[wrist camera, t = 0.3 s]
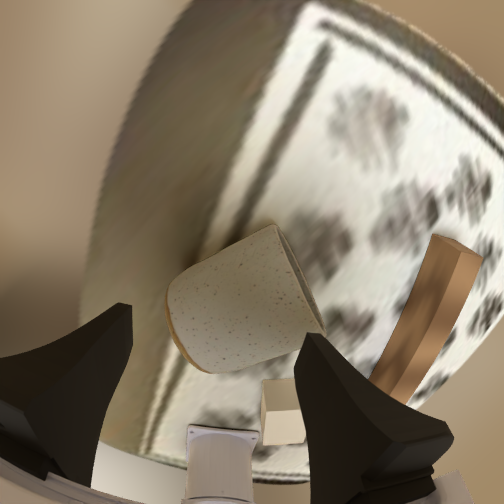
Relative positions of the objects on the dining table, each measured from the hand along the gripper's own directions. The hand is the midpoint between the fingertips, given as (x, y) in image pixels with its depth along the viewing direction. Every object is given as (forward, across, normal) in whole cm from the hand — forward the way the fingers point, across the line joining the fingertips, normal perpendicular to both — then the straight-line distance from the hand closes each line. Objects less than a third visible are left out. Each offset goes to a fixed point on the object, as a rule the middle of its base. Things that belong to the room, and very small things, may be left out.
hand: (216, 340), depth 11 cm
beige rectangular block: (+10, -8, +15) cm, 19 cm away
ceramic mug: (+10, -3, +3) cm, 11 cm away
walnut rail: (+10, -18, +8) cm, 22 cm away
